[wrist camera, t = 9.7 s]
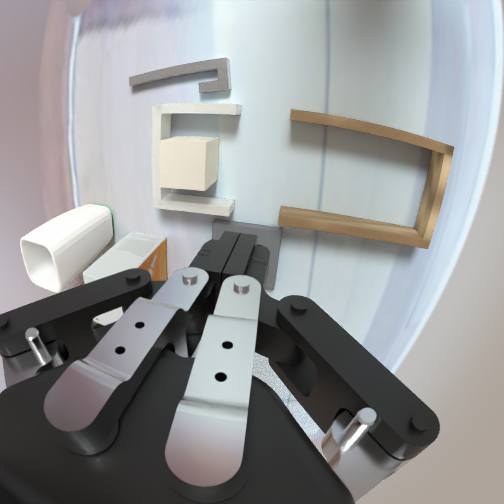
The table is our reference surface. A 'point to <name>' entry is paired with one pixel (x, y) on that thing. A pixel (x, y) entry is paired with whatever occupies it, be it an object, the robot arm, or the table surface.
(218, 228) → the hole frame
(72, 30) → the table surface
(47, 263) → the white rounded prism
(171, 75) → the crook tool
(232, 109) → the cream bay
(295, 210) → the wooden u-shaped frame
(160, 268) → the small box
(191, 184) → the cream cube
